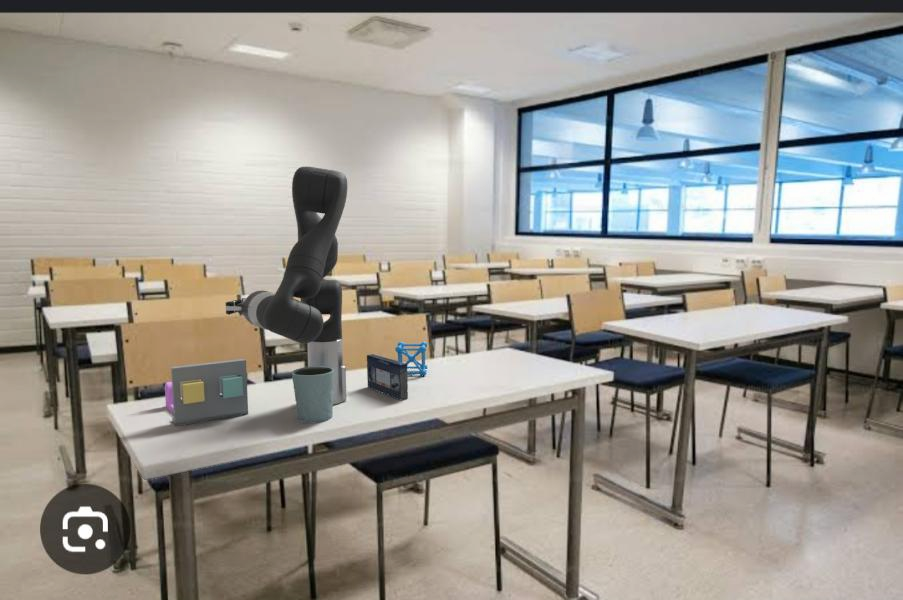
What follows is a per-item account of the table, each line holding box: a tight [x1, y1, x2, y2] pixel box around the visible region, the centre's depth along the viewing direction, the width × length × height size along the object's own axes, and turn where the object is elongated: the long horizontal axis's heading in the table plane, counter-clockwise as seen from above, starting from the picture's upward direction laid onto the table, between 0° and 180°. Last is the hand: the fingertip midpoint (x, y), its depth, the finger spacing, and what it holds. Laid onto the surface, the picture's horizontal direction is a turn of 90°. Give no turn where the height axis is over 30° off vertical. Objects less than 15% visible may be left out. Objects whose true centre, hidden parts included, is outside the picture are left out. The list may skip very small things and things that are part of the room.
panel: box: [170, 358, 249, 427], centre depth 148 cm, size 17×5×14 cm, turn 123°
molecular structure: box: [394, 341, 428, 376], centre depth 195 cm, size 10×10×10 cm
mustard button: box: [180, 380, 205, 404], centre depth 144 cm, size 5×6×5 cm
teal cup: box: [291, 366, 334, 423], centre depth 148 cm, size 10×10×12 cm
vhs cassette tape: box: [366, 353, 409, 400], centre depth 171 cm, size 18×3×10 cm, turn 37°
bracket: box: [164, 381, 183, 414], centre depth 155 cm, size 13×6×7 cm, turn 39°
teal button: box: [220, 375, 243, 398], centre depth 149 cm, size 5×6×5 cm
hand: (244, 302), depth 136 cm, fingers closed
